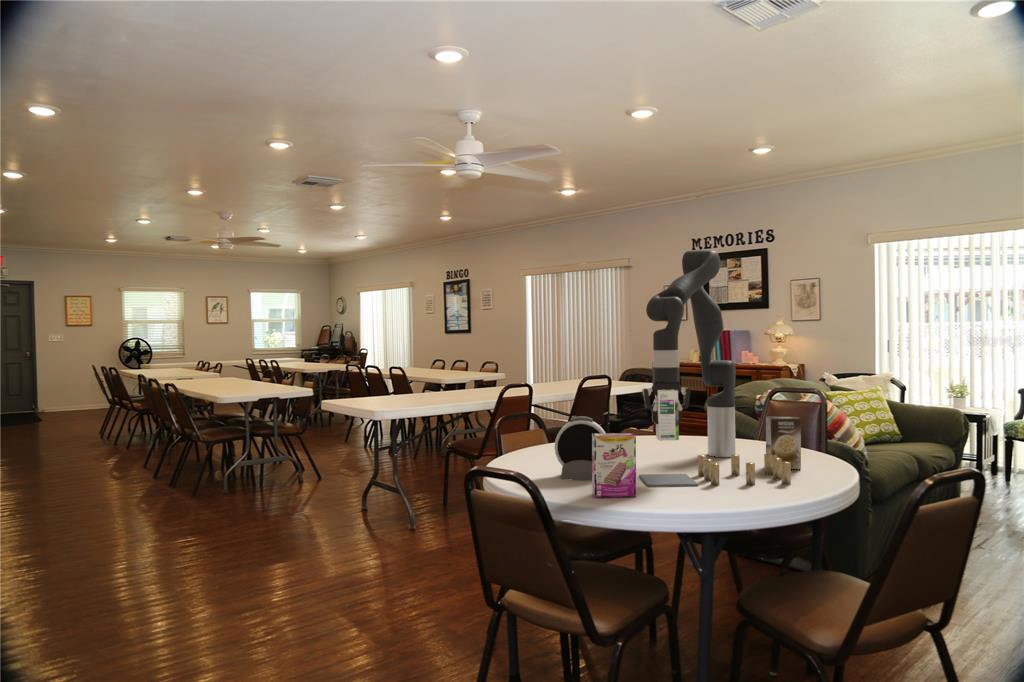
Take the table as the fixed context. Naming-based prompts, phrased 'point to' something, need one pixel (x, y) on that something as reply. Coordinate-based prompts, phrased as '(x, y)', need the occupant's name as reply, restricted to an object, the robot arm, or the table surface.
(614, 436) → the candy bar box
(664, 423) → the syrup box
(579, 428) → the alarm clock
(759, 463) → the table surface
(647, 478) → the mat
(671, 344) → the robot arm
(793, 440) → the coffee box
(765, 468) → the spacer field
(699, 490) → the table surface
